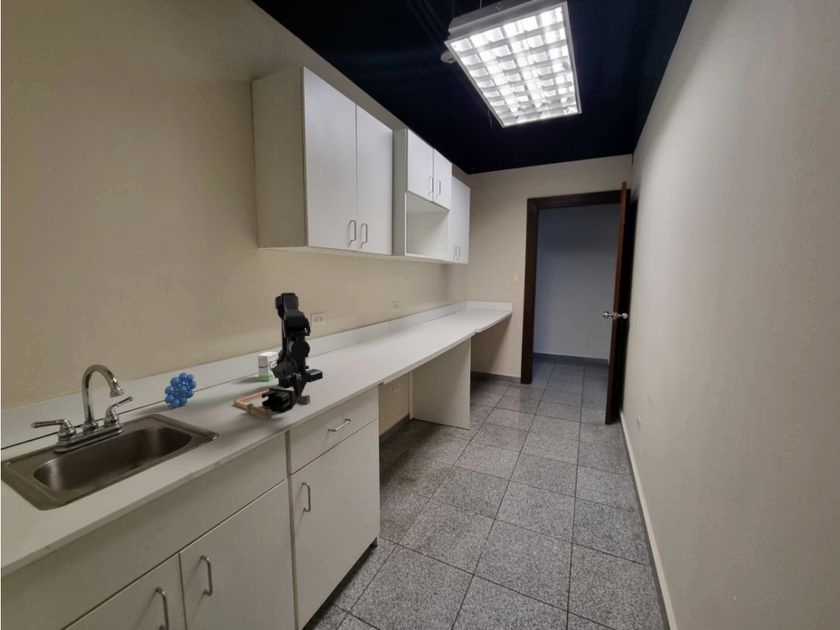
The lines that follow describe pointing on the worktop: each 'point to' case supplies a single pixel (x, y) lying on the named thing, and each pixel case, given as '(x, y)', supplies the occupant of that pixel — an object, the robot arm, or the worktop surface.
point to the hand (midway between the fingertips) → (298, 396)
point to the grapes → (180, 390)
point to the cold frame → (267, 413)
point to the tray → (247, 399)
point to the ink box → (267, 365)
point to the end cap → (279, 400)
